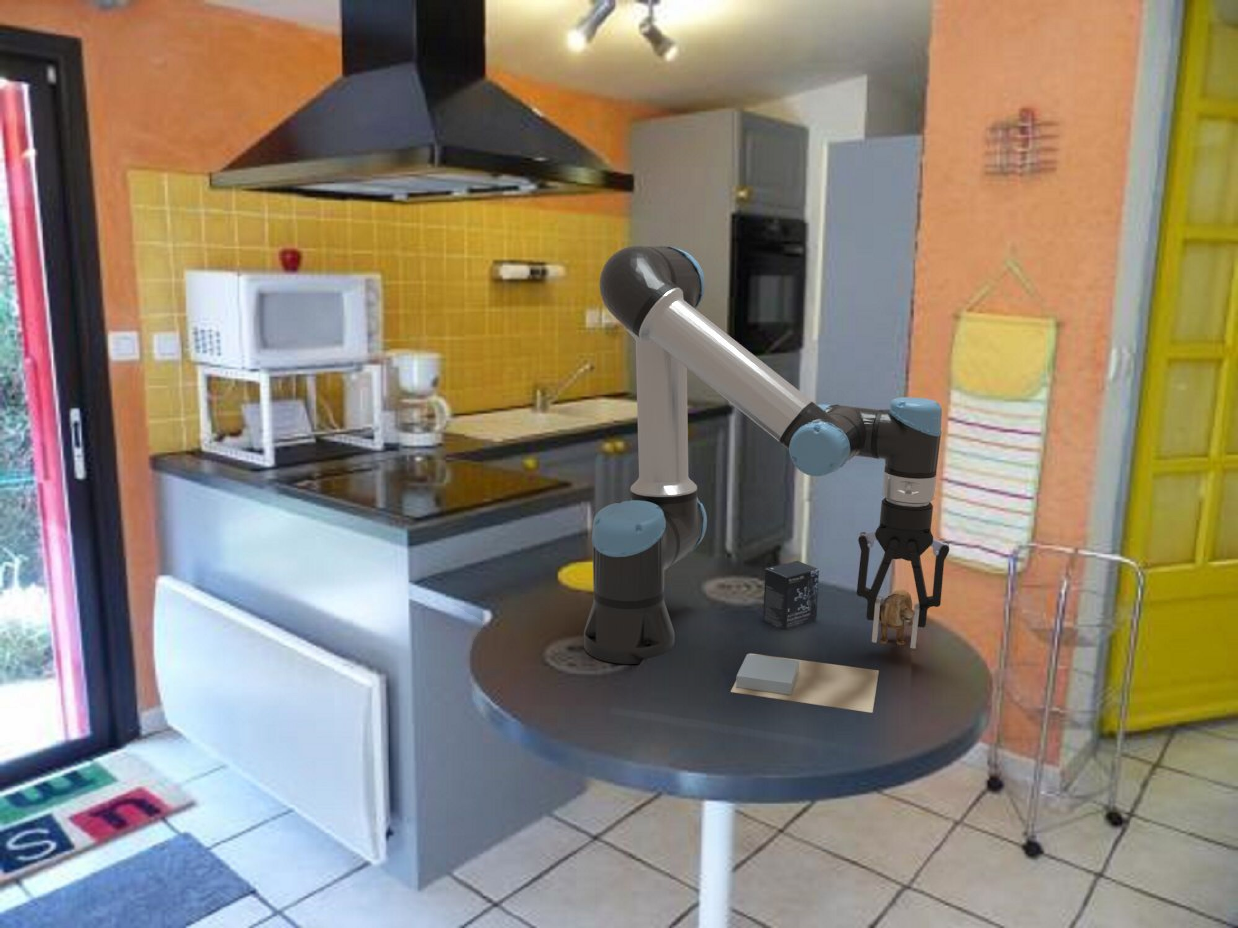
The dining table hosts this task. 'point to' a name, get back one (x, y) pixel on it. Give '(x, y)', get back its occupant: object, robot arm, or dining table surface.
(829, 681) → the board
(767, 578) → the box
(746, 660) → the block
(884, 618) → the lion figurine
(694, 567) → the dining table surface
